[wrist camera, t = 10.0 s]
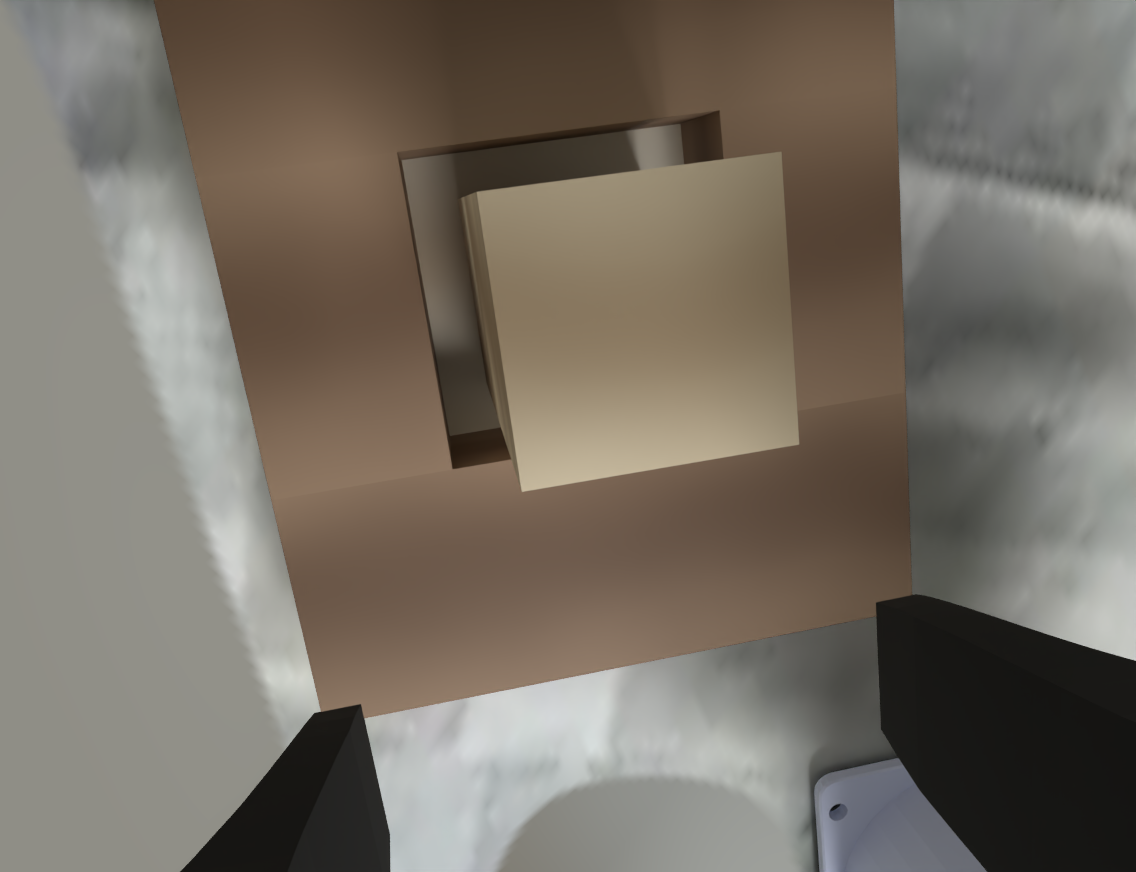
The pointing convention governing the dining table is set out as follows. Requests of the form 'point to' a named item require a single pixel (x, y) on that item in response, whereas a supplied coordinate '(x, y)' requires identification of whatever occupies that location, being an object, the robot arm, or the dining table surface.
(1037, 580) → the dining table surface
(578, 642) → the socket block
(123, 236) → the dining table surface
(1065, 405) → the dining table surface
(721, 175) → the beech peg
